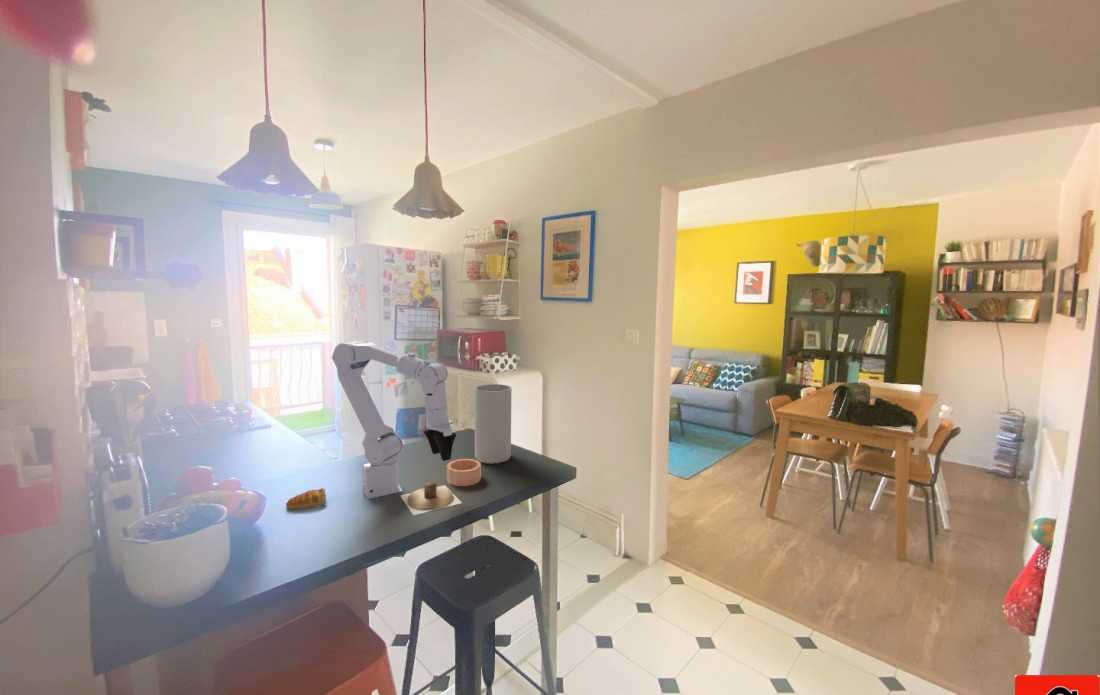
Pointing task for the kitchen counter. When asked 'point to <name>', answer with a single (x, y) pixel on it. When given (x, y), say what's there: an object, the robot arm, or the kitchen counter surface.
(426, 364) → the robot arm
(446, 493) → the lid
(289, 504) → the pastry
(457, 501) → the mat
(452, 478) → the bowl
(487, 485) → the kitchen counter surface
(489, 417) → the cylinder vase
